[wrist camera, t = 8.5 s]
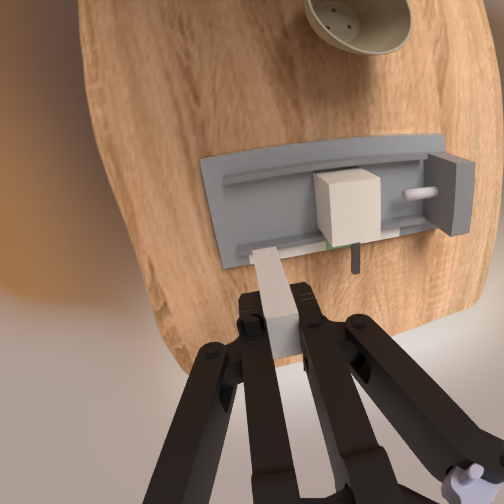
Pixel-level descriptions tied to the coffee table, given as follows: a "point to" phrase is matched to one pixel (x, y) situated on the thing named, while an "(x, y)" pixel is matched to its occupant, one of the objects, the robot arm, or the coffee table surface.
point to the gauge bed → (303, 193)
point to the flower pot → (361, 24)
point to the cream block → (348, 208)
